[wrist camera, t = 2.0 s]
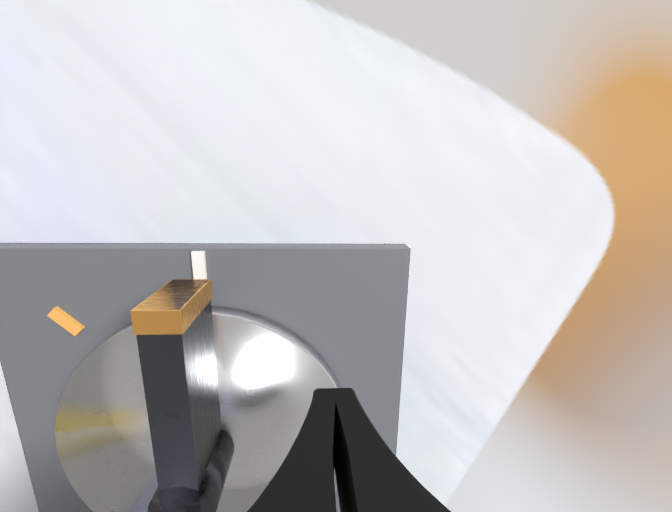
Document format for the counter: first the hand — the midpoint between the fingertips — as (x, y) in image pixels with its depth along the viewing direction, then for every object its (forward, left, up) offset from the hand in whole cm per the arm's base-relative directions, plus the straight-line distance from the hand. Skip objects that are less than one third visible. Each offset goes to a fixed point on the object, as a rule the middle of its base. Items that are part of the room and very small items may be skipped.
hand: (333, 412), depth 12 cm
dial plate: (-4, +6, -5) cm, 8 cm away
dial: (-3, +6, -4) cm, 8 cm away
